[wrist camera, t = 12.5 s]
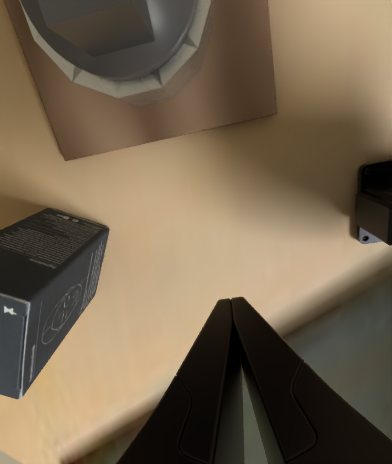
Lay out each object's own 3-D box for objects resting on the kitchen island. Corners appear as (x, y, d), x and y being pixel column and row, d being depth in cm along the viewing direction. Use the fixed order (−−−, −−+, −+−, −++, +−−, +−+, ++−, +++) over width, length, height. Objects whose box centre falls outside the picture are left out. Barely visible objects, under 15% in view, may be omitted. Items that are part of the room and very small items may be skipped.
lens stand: (249, -175, 13) (251, -194, 12) (274, 114, 18) (277, 113, 17) (-18, -77, 15) (-30, -88, 14) (70, 160, 20) (65, 161, 19)
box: (48, 205, 21) (-89, 267, 12) (111, 226, 22) (32, 303, 12) (39, 279, 24) (-77, 377, 14) (96, 296, 25) (20, 404, 15)
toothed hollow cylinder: (194, -104, 14) (187, -210, 9) (222, 86, 17) (226, 71, 13) (41, -51, 15) (-26, -125, 10) (95, 117, 18) (60, 112, 14)
